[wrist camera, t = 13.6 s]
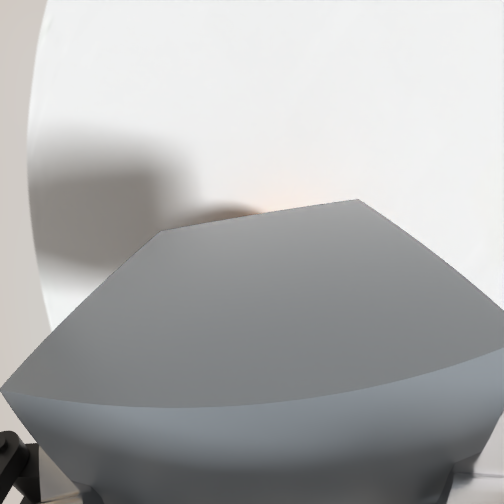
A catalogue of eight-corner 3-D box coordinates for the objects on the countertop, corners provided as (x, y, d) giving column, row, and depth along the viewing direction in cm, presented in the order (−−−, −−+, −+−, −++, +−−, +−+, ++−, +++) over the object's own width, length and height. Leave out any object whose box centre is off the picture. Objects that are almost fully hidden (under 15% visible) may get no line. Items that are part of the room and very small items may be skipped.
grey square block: (160, 231, 12) (-1, 389, 3) (358, 199, 11) (530, 336, 3) (206, 382, 14) (163, 557, 6) (365, 362, 13) (420, 538, 5)
